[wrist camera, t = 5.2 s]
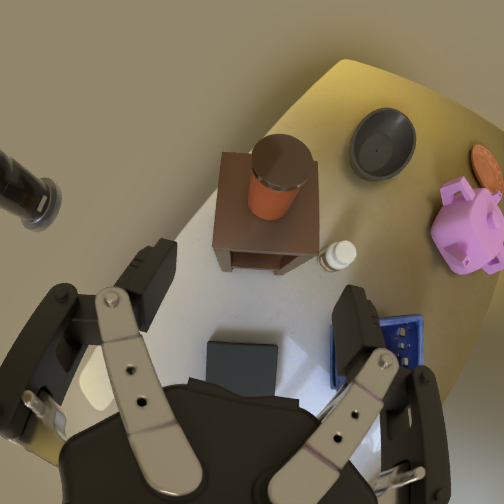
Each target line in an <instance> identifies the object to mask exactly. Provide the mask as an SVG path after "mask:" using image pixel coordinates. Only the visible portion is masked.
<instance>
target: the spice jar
mask: <svg viewBox="0 0 504 504" xmlns="http://www.w3.org/2000/svg"><path fill="white" fill-rule="evenodd" d="M312 170H313V158H312V155H311V152H310V151H309V149H308V148H307V146H306V145H305V144H304V143H303V142H301V141H300V140H299V139H297V138H295V137H293V136H290V135H286V134H273V135H269V136H266V137H264V138H262V139H261V140H260V141H258V143H257V144H256V145H255V146H254V148H253V151H252V155H251V173H250V181H249V188H248V196H247V201H248V205H249V208H250V209H251V211H252V212H253V213H254V214H255V215H256V216H258V217H259V218H262V219H265V220H275V219H279V218H281V217H282V216H284V215H285V214H286V213H287V212H288V210H289V208H290V206H291V205H292V203H293V201H294V200H295V198H296V196H297V194H298V193H299V191H300V189H301V187H302V186H303V184H305V182H306V181H307V180H308V178H309V176H310V175H311V173H312Z"/></svg>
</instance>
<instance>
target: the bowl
mask: <svg viewBox="0 0 504 504" xmlns="http://www.w3.org/2000/svg"><path fill="white" fill-rule="evenodd" d="M415 146H416V133H415V129H414V127H413V124H412V123H411V121H410V120H409V119H408V117H407V116H406V115H404V114H403V113H402V112H400V111H398V110H396V109H392V108H381V109H377V110H375V111H373V112H371V113H370V114H368V115H367V116H366V117H365V118H364V119H363V120H362V121H361V122H360V123H359V125H358V126H357V128H356V130H355V132H354V134H353V137H352V141H351V146H350V162H351V166H352V168H353V170H354V172H355V173H356V175H357V176H359V177H360V178H362V179H364V180H367V181H382V180H386V179H389V178H392V177H394V176H396V175H397V174H398V173H400V172H401V171H402V170H403V169H404V168H405V167H406V165H407V164H408V163H409V161H410V159H411V158H412V155H413V153H414V150H415Z"/></svg>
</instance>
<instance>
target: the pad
mask: <svg viewBox="0 0 504 504" xmlns="http://www.w3.org/2000/svg"><path fill="white" fill-rule="evenodd" d="M277 355H278V346H277V345H273V344H247V343H229V342H215V341H208V343H207V362H206V382H209V383H213V384H217V385H219V386H221V387H223V388H225V389H227V390H230V391H232V392H234V393H236V394H238V395H241V396H243V397H259V396H274V395H275V382H276V369H277Z"/></svg>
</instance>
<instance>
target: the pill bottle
mask: <svg viewBox="0 0 504 504" xmlns="http://www.w3.org/2000/svg"><path fill="white" fill-rule="evenodd" d="M355 257H356V248H355V246H354V245H353V244H352V243H351V242H349V241H341V242H340V241H337V242H334V243H332V244H330V245H329V246H327V247H325V248H324V249H322V250H321V251H320V253H319V255H318V264H319V266H320V267H321V269H322V270H324V271H326V272H335V271H338V270H342V269H344V268H346V267H348V266H349V265H350V263H351V262H353V261H354V259H355Z"/></svg>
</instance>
